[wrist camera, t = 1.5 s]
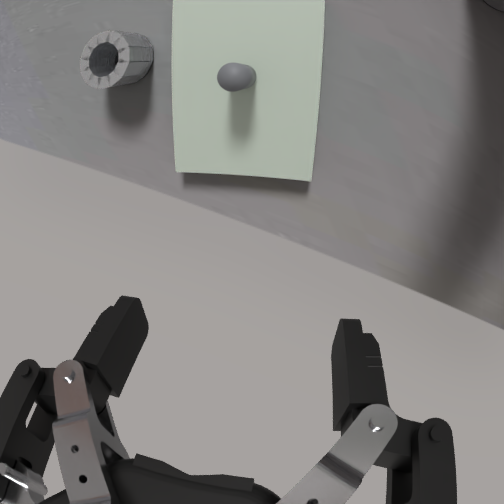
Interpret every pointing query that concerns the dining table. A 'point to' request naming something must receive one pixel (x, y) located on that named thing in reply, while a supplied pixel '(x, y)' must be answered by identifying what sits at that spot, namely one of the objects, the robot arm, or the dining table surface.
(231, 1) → the post base
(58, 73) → the dining table surface
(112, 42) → the cylinder
